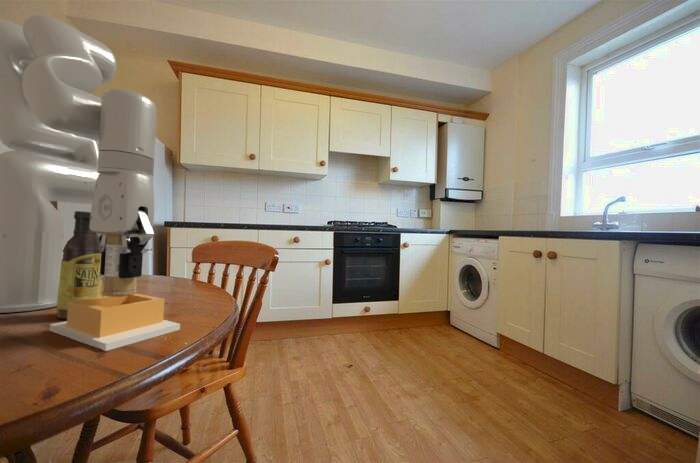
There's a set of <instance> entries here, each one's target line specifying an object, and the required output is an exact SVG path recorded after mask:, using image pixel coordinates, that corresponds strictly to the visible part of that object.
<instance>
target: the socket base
mask: <svg viewBox="0 0 700 463" xmlns="http://www.w3.org/2000/svg"><path fill="white" fill-rule="evenodd" d="M165 301H166V300H165V298H160V297H157V296H152V295H151V296H150V295H146V294H141V293H135V294H133V295H130V296H123V297H108V296H104V295H103V296H102V297H97V298H90V299H83V300H76V301H69V302H68V314H67V319H66V321H61V322H56V323H52V324H51V323H50V324H49V332H52V333H54V334H58V335H60V336H63V337H65V336H66V338H68V337H69V338H68V339H71V340H74V341H77V342H80V343H83V344H85V345H88V346H90V347H93V346H94V347H93V348H96V347H97V348H96V349H99V348H100V349H99V350H101V349H102V350H101V351H104V352H107V351H111V350H115V349H118V348H121V347H125V346H129V345H132V344H135V343H138V342H142V341H145V340H149V339H153V338H156V337H158V336H159V337H160V336H162V335H166V334H170V333H173V332H176V331H180V330H181V324H180V323H178V322H175V321H171V320H166V319H164V316H165V313H164V312H165Z"/></svg>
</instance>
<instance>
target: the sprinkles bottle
mask: <svg viewBox="0 0 700 463" xmlns="http://www.w3.org/2000/svg"><path fill="white" fill-rule="evenodd" d="M128 233H132V234H137V230H128ZM132 240H133V238H130V243H131V241H132ZM120 253H123V246H122V234H107V244H106V257H105V274H104V283H103V286H104V287H103V291H102V296H103V297H104V296H108V297H123V296H130V295H133V294H135V293H137V292H138V289H137V281H138V280H137V278H138V277H132V278H119V258H120ZM137 294H138V293H137Z"/></svg>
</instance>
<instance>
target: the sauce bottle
mask: <svg viewBox="0 0 700 463" xmlns="http://www.w3.org/2000/svg"><path fill="white" fill-rule="evenodd" d="M90 216H91V211H79V210H76V211H74V216H73V218H74V220H75V221H74V230H73V234H72V235H73V236H72V237H71V238H70V239H68V241H66V244H65V245H64V247H63V249H62V262H61V271H60V281H59V289H58V299H57V306H56V309H57V311H56V317H57V319H63V320H67V314H68V302H69V301H76V300H83V299H90V298H97V297H103V291H104V287H103V286H104V280H105V275H101V274H100V267H101V252H102V251H101V250H100V245H101V242H100V240H99V237H98V235H97V234H96V233H94V232H92V231H91V230H90Z"/></svg>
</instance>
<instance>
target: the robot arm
mask: <svg viewBox="0 0 700 463" xmlns="http://www.w3.org/2000/svg"><path fill="white" fill-rule="evenodd" d="M117 66H118V64H117V60H116V57H115V55H114V52H113V51H112V50H111V49H110V47H108V46H107V45H106V44H104V43H102V42H101V41H99V40H97V39H95V38H93V37H92V36H90V35H87V34H86V33H84V32H82V31H80V30H78V28H75V27H73V26H71V25H70V24H68V23H67V22H64V21H62V20H60V19H57V18H56V17H52V16H49V15H43V14H34V15H30V16H28V17H27V18H26V19H24V22H23V24H22V25H20V24H18V23H15V22H12V21H11V20H6V19H4V18H0V142H1V143H2V144H3V145H4V146H5V147H7V148H8V149H10V150H8V151H4V152H1V153H0V314H1V313H3V314H4V313H6V314H7V313H20V312H31V311H38V310H44V309H50V308H51V309H52V308H56V307H57V299H58V289H59V281H60V271H61V262H62V259H63V248H64V247H63V246H64V229H65V228H64V226H65V225H64V224H65V223H64V219H63V216H62V215H61V214H60V212H59V211H58V210H57V208H55V206H54V205H53V203H51V202H63V203H69V204H70V203H71V204H83V205H84V204H85V205H90V204H91V207H90V208H91V209H90V212H91V216H90V230H91V231H92V232H94V233H96V234H97V235H98V237H99V240H100V242H101V245H100V250H101V251H102V252H101V267H100V274H101V275H104V274H105V257H106V244H107V234H122V246H123V253H120V258H119V278H132V277H137V278H139V277H140V278H141V276H142V274H143V254H145V252H146V246H147V245H148V243H149V241H150V240H151V239H152V238H153V237H154V235H155V233H154V230H153V228H154V222H155V221H154V220H155V219H154V218H155V191H154V182H153V181H154V169H155V154H156V153H155V151H156V135H157V134H156V133H157V131H156V130H157V115H158V114H157V113H158V112H157V111H158V110H157V107H156V104H155V103H154V101H152V100H151V99H150V98H149V97H147V96H145V95H144V94H141V93H138V92H136V91H133V90H130V89H129V90H128V89H125V88H124V89H123V88H109V89H106V90H105V91H104V92H103V93H102V95H101V97H100V96H97V95H94V94H93V93H94V92H96V91H97V90H98V89H99V88H100V86H102V85H105V84H107V83H109V82H110V81H112V80H113V78H114V77H115V76H116V74H117V69H118V68H117ZM128 230H137V234H132V233H128ZM130 238H133V240H132V241H131V243H130ZM104 276H105V275H104Z"/></svg>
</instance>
